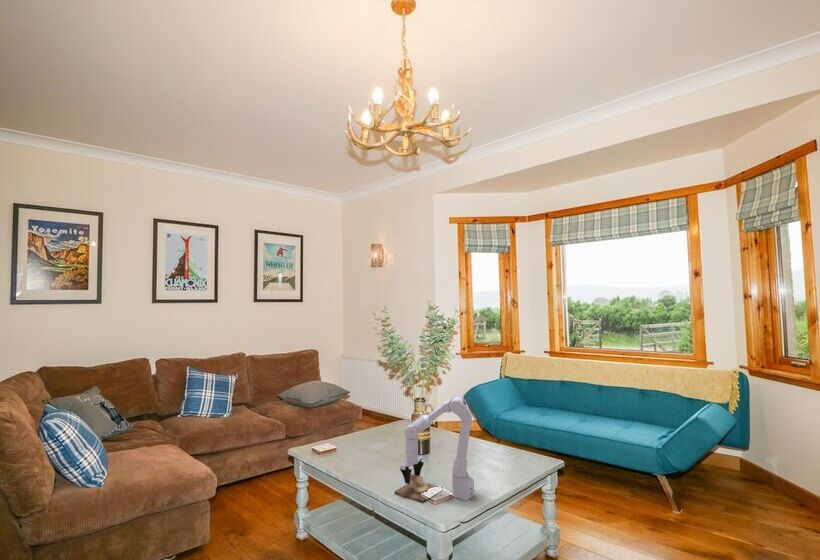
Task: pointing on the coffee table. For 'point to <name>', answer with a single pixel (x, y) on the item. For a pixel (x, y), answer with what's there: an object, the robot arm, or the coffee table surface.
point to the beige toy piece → (418, 484)
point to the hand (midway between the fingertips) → (412, 480)
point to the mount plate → (412, 492)
